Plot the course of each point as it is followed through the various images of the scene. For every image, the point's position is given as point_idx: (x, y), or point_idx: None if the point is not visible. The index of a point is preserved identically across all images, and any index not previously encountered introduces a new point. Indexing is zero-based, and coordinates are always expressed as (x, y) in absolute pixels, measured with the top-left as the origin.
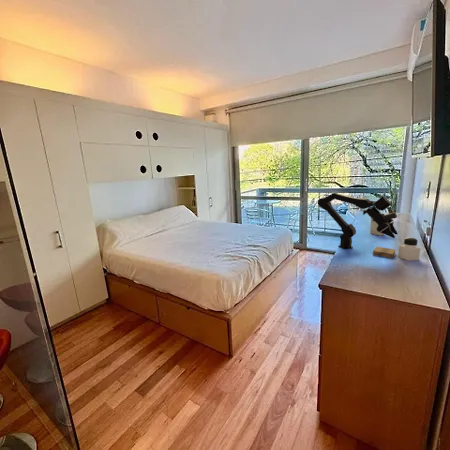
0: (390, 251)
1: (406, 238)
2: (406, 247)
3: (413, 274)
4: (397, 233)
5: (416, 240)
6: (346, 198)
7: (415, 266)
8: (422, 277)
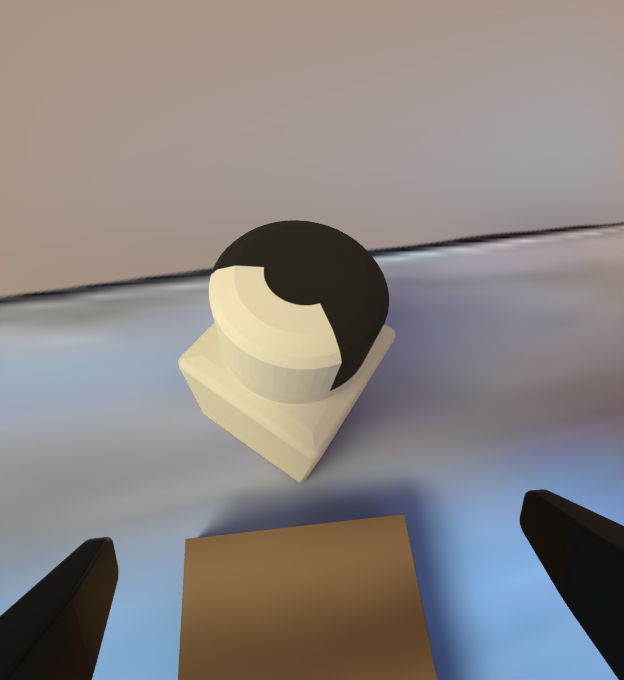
0: (320, 570)
1: (338, 328)
2: (364, 367)
3: (596, 323)
4: (105, 544)
5: (323, 225)
6: None
7: (445, 331)
8: (591, 285)
